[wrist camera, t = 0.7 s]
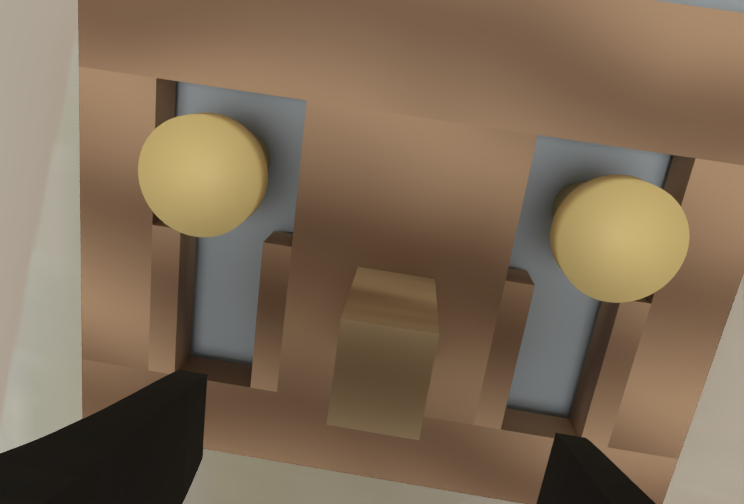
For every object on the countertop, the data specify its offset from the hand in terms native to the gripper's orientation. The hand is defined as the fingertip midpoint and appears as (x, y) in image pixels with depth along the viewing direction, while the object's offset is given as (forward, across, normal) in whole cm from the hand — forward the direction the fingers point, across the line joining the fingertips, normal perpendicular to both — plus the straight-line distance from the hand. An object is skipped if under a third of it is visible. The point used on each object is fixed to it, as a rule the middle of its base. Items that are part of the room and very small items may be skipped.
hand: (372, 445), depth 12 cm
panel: (+8, 0, -2) cm, 8 cm away
